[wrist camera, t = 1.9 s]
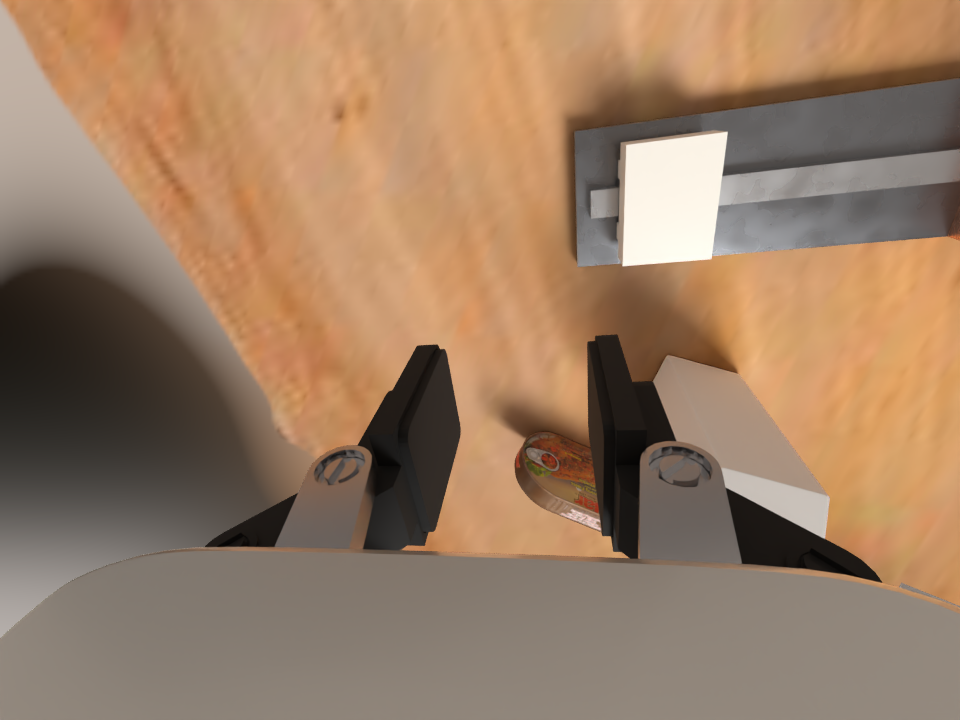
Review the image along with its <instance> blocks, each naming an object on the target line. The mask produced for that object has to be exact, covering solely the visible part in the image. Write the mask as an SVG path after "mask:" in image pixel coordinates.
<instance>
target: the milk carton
mask: <svg viewBox="0 0 960 720" xmlns="http://www.w3.org/2000/svg"><path fill="white" fill-rule="evenodd" d="M653 383H654V385H655V387H656V389H657V392H658V395H659V397H660V400H661V402H662V405H663V407H664V410H665V412H666V415H667V418H668V420H669V423H670V425H671V428H672V430H673V433H674V435H675V438H676V441H679V442H684V443H689V444H692V445H695V446H697V447H700V448H702V449H703V450H705V451H707V452H708V453H710V454H711V455H712V456H713V457H714V458H715V459H716V460H717V461H718V463H719V465H720V467H721V469H722V473H723V478H724V483H725V487H726V488H728V489H730V490H732V491H734V492H736V493H738V494H740V495H742V496H743V497H745V498H747V499H749V500H751V501H753V502H755V503H757V504H759V505H761V506H763V507H764V508H766V509H768V510H770V511H772V512H774V513H776V514H778V515H780V516H782V517H784V518H786V519H787V520H789V521H791V522H793V523H795V524H797V525H799V526H801V527H803V528H805V529H807V530H809V531H810V532H812V533H814V534H816V535H818V536H820V537H822V538H824V539H825V533H826V525H827V516H828V508H829V499H830V497H829V496H828V495H827V493H826V492H825V491H824V489H823V488H822V487H821V485H820V484H819V483H818V481H817V480H816V478H815V477H814V476H813V474H812V473H811V472H810V470H809V469H808V467H807V466H806V465H805V463H804V462H803V461H802V459H801V458H800V456H799V455H798V454H797V452H796V451H795V450H794V448H793V447H792V445H791V444H790V443H789V441H788V440H787V439H786V437H785V436H784V434H783V433H782V432H781V430H780V429H779V428H778V426H777V425H776V423H775V422H774V421H773V419H772V418H771V417H770V415H769V414H768V412H767V411H766V410H765V408H764V407H763V406H762V404H761V403H760V402H759V400H758V399H757V397H756V396H755V395H754V393H753V392H752V391H751V389H750V388H749V386H748V385H747V384H746V382H745V381H744V380H743V378H742V377H741V376H740V375H739V374H737V373H734V372H730V371H726V370H723V369H719V368H715V367H712V366H708V365H704V364H701V363H697V362H693V361H690V360H686V359H682V358H679V357H675V356H671V355H667V356H666V358H665V360H664V361H663V363H662V365H661V367H660V369H659V371H658V373H657V375H656V376H655V378H654V380H653Z"/></svg>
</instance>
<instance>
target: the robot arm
mask: <svg viewBox="0 0 960 720" xmlns="http://www.w3.org/2000/svg"><path fill="white" fill-rule="evenodd" d="M587 353H588V427H589V438H590V446H591V454H592V462H593V469H594V477H595V485H596V493H597V500H598V508H599V516H600V524H601V531H602V536H611V539H612V546H613V552H622V553H624V554H625V555H626V556H628V557H629V558H630V559H629V558H604V557H578V556H552V555H525V554H495V553H466V552H435V551H404V550H402V548H404V547H405V546H407V545H415V546H425V542H426V539H427V535H428V532H434V531H435V529H436V526H437V522H438V518H439V514H440V511H441V507H442V503H443V499H444V496H445V492H446V488H447V484H448V481H449V477H450V473H451V469H452V466H453V462H454V458H455V454H456V451H457V447H458V443H459V439H460V422H459V416H458V411H457V406H456V401H455V395H454V390H453V385H452V379H451V374H450V369H449V364H448V358H447V353H446V351H445V349H440V348H439V346H438V345H421V346H417V347H416V349H415V351H414V352H413V354H412V356H411V358H410V360H409V361H408V363H407V365H406V367H405V369H404V371H403V372H402V374H401V376H400V378H399V380H398V381H397V383H396V385H395V387H394V389H393V390H392V391H389V392H388V393H387V394H386V396H385V398H384V400H383V401H382V403H381V405H380V407H379V408H378V410H377V412H376V414H375V415H374V417H373V419H372V421H371V422H370V424H369V426H368V428H367V430H366V431H365V433H364V435H363V437H362V438H361V440H360V442H359V444H358V445H347V446H342V447H338V448H335V449H333V450H330V451H328V452H326V453H325V454H323V455H322V456H320V457H319V458H318V459H317V460H316V461H315V462H313V463H312V465H311V467H310V468H309V470H308V472H307V474H306V476H305V479H304V481H303V483H302V485H301V488H300V490H299V492H298V493H297V494H295V495H293V496H291V497H289V498H287V499H286V500H284V501H282V502H280V503H279V504H276V505H274V506H273V507H271V508H269V509H267V510H265V511H263V512H261V513H259V514H258V515H256V516H254V517H252V518H250V519H248V520H246V521H244V522H243V523H241V524H239V525H237V526H235V527H233V528H232V529H230V530H228V531H226V532H224V533H222V534H221V535H219V536H218V537H216V538H214V539H213V540H212V541H211V542H209V543H208V544H207V545H206V546H205V547H200V548H199V547H198V548H185V549H175V550H166V551H160V552H155V553H150V554H145V555H140V556H136V557H132V558H129V559H126V560H123V561H119V562H116V563H113V564H109V565H106V566H103V567H101V568H98V569H96V570H93V571H91V572H89V573H86V574H84V575H82V576H80V577H78V578H76V579H74V580H72V581H70V582H68V583H67V584H65V585H64V586H62V587H61V588H59V589H58V590H57V591H55V592H54V593H53V594H51V595H50V596H48V597H47V598H46V599H45V600H43V601H42V602H41V603H40V604H39V605H38V606H36V607H35V608H34V609H33V610H32V611H30V612H29V613H28V614H27V615H26V616H25V617H23V618H22V619H21V620H20V621H19V622H17V623H16V624H15V625H14V626H13V627H12V628H11V629H10V630H9V631H8V632H7V633H5V634H4V635H3V636H2V637H1V638H0V720H960V606H958V605H955V604H953V603H950V602H948V601H945V600H943V599H940V598H938V597H935V596H933V595H930V594H928V593H925V592H923V591H920V590H918V589H915V588H913V587H910V586H908V585H905V584H903V583H901V584H900V586H899V587H896V586H893V585H889V584H884V583H882V581H881V580H880V578H879V577H878V576H877V574H876V573H875V572H874V571H873V570H872V569H871V568H870V567H869V566H868V565H867V564H865V563H864V562H863V561H862V560H861V559H859V558H858V557H856V556H854V555H853V554H851V553H850V552H848V551H847V550H845V549H843V548H841V547H839V546H837V545H835V544H833V543H831V542H830V541H828V540H826V539H824V538H822V537H820V536H818V535H816V534H814V533H812V532H810V531H809V530H807V529H805V528H803V527H801V526H799V525H797V524H795V523H793V522H791V521H789V520H787V519H786V518H784V517H782V516H780V515H778V514H776V513H774V512H772V511H770V510H768V509H766V508H764V507H763V506H761V505H759V504H757V503H755V502H753V501H751V500H749V499H747V498H745V497H743V496H742V495H740V494H738V493H736V492H734V491H732V490H730V489H728V488H726V487H725V483H724V478H723V473H722V469H721V467H720V465H719V463H718V461H717V460H716V459H715V458H714V457H713V456H712V455H711V454H710V453H708V452H707V451H705V450H703V449H702V448H700V447H697V446H695V445H692V444H689V443H684V442H679V441H676V438H675V435H674V433H673V430H672V428H671V425H670V423H669V420H668V418H667V415H666V412H665V410H664V407H663V405H662V402H661V400H660V397H659V395H658V392H657V389H656V387H655V385H654V383H653V382H652V381H644V382H632V380H631V377H630V374H629V371H628V367H627V364H626V361H625V358H624V354H623V351H622V348H621V345H620V342H619V338H618V336H617V335H602V336H595V341H589V342H588V344H587Z"/></svg>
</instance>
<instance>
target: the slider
mask: <svg viewBox="0 0 960 720" xmlns="http://www.w3.org/2000/svg"><path fill="white" fill-rule="evenodd" d="M727 135H728V132H725V131H717V130H712V131H705V132H697V133H689V134H682V135H674V136H666V137H659V138H651V139H644V140H636V141H628V142H621V147H620V160H618V178H619V179H620V189H619V222H617V237H616V238H617V240H618V258H619V260H620V262H621V264H622V266H633V265H645V264H657V263H670V262H682V261H694V260H706V259H712V251H713V243H714V236H715V228H716V220H717V212H718V205H719V197H720V189H721V181H722V174H723V166H724V158H725V150H726V142H727Z"/></svg>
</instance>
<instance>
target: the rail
mask: <svg viewBox="0 0 960 720" xmlns="http://www.w3.org/2000/svg"><path fill="white" fill-rule="evenodd" d="M712 130H717V131H725V132H728V135H727V142H726V150H725V158H724V166H723V174H722V181H721V189H720V197H719V205H718V212H717V220H716V228H715V236H714V243H713V251H712V256H716V255H728V254H740V253H752V252H764V251H776V250H788V249H800V248H812V247H824V246H836V245H848V244H860V243H872V242H884V241H896V240H908V239H920V238H932V237H944V236H948V237H951V238H954V239H957V240H960V77H959V78H951V79H944V80H937V81H930V82H922V83H915V84H908V85H901V86H894V87H886V88H879V89H872V90H865V91H857V92H850V93H843V94H836V95H829V96H821V97H814V98H807V99H800V100H792V101H785V102H778V103H771V104H764V105H756V106H749V107H742V108H735V109H727V110H720V111H713V112H706V113H698V114H691V115H684V116H677V117H670V118H662V119H655V120H648V121H641V122H633V123H626V124H619V125H612V126H605V127H597V128H590V129H583V130H576V131H574V166H575V210H576V254H577V266H578V267H584V266H596V265H608V264H620V263H621V262H620V260H619V258H618V240H617V238H616V237H617V222H619V189H620V179H619V178H618V160H620V147H621V142H628V141H636V140H644V139H651V138H659V137H666V136H674V135H682V134H689V133H697V132H705V131H712Z"/></svg>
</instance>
